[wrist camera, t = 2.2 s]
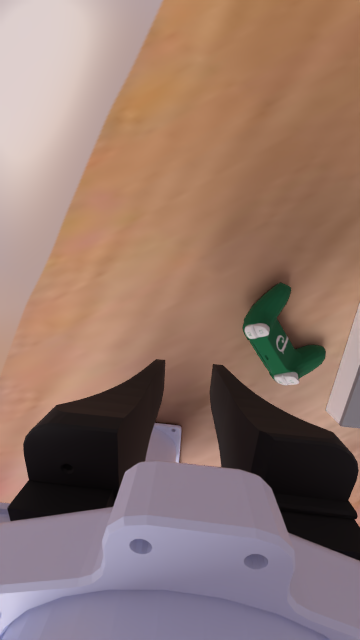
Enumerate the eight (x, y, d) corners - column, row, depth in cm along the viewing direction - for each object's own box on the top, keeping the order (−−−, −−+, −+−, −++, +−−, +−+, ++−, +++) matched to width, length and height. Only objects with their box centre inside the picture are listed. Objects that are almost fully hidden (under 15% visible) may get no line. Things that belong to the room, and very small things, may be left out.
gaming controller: (253, 290, 20) (227, 321, 17) (289, 277, 17) (265, 311, 14) (292, 354, 22) (274, 393, 19) (330, 353, 19) (318, 399, 15)
